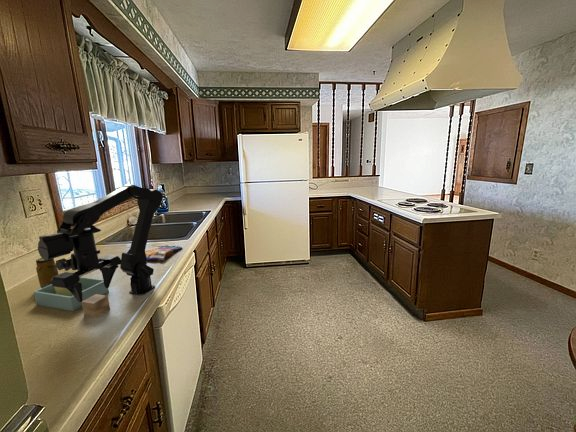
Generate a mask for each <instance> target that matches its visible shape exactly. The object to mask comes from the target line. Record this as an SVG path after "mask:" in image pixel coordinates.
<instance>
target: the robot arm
mask: <svg viewBox="0 0 576 432" xmlns="http://www.w3.org/2000/svg"><path fill="white" fill-rule="evenodd" d="M130 198H132V199H134V200H135V199H136V200H137V206H138V210H139V212H138V216H137V220H136V224H135V228H134V231H133V232H134V233H133V236H132V239H131V244H130V247H129V249H128V251H127V252H122V254H121V258H120V256H118V255H111V254H107V255H105V256H102V257H100V258H99V254H101V249H97V244H96V240H95V233H99V232H101V231H102V230H101V229H100V228H99V227H96V226H95V225H94V224H96V222H98V221H99V220H100V218H101V217H102V215H104V214H105V213H107V212H108V211H110V210H112V209H114V208H115V207H117V206H119V205H120V204H122V203H124V202H126V201H127V200H129V199H130ZM163 200H164V195H163V194H162V192H161V190H159V189H154V188H153V189H150V188H145V187H140V186H138V185H135V184H124V185H122V186H121V187H120V188H118V189H115V190H114V191H111V192H110V193H108V194H106V195H104V196H102V197H101V198H99V199H97V200H95V201H93V202H91V203H87V204H83V205H79V206H77V207H73V208H71V209H68V210H66V211H65V212H64V214H63V218H62V219H63V220H62V222H61V223H60V225H59V227H58V229H57V231H56V232H55V233H53V234H52V233H51V234H45V235H41V236H38V239H39V241H38V243H37V252H38V254H39V256H40V257H41V258H42V259H44V260H49V259H53V258H54V259H55V258H60V257H62V256H66V255H70V258H69V259H66V258H65V257H63V258H60V259H58V260H55V263H56V266H57V269H58V271H62V270H64V272H62V273H58V274H59V275H57V276H54V277H53V278H52V280H51V282H52V286H54V287H61V288H66V289H68V290H69V291H70V292H71V293H72V295H73V296H74V297H75V298H76V299H77V301H78V302H82V284H81V283H78V282H79V280H80V278H79V277H85V275H88V274H90V273H93V272H95V271H97V270H99V271H100V272H101V276H102V280H103V281H104V285H105V288H108V289H109V287H110V285H111V282H112V280H113V277H114V275H115V272H116V271H117V269H118V268H120V270H121V271H122V272H124V273H125V274H126V275H127V276H130V289H131V290H129V291H128V293H129V294H133V295H134V294H135V295H141V296H142V295H145V294H146V293H148V292H150V291H151V290H153V289H154V288H156V285H154V284H152V279H151V278H152V277H151V276H152V275H154V270H155V269H154V268H153V267H152V266H151V267H150V266H149V265H148V262H147V257H146V253H145V251H146V247H147V243H148V239H149V234H150V233H151V232H150V231H151V227H152V223H153V218H154V216H155V215H154V214H155V213H156V212H157V211H158V209H160V207H161V205H162V201H163ZM72 252H73V253H72ZM119 266H120V267H119ZM70 269H71V270H72V271H75V272H68V271H69V270H70Z"/></svg>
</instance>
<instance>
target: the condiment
mask: <svg viewBox="0 0 576 432" xmlns="http://www.w3.org/2000/svg"><path fill="white" fill-rule="evenodd" d="M35 262H36V263H35V264H36V268H35V270H36V274H37V277H38V283H39V287H40V288H37V289H36V290H35V291H37V290H39V289H41V288H44V287H46V286H49V285H51V284H52V282H51V280H52V278H53V277H54V276H57V275H59V274H60V273H59V270H58V268H57V266H56V260H55V258H53V259H49V260H44V259H42V257H41V258H38V259H36V260H35Z"/></svg>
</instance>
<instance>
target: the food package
mask: <svg viewBox="0 0 576 432" xmlns="http://www.w3.org/2000/svg"><path fill="white" fill-rule="evenodd" d="M182 250H183V247H182V246H178V245H177V246H176V245H171V246H169V245H160V246H157V247H151V248H149V249H147V250H145V253H146V257H147V263H151V262H158V263H161V262H162V261H165V260H168V259H169V258H170V257H172V256H173V255H174V254H176V253H178V252H180V251H182Z"/></svg>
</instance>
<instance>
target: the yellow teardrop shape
mask: <svg viewBox="0 0 576 432" xmlns="http://www.w3.org/2000/svg"><path fill="white" fill-rule="evenodd" d="M54 288H55V292H56V294H58V295H64V296H72V293H71V292H70V291H69V290H68V289H66V288H61V287H54Z"/></svg>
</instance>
